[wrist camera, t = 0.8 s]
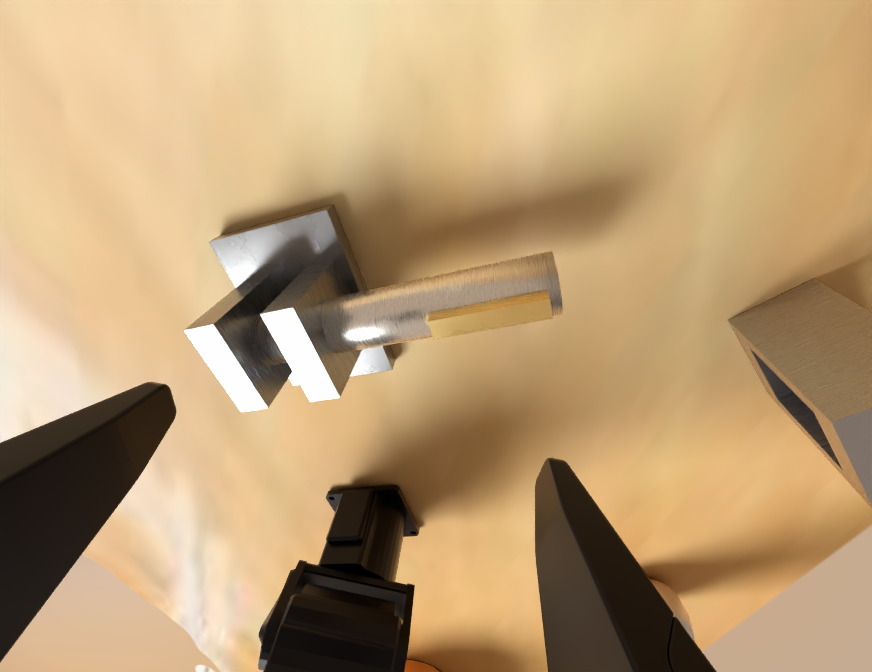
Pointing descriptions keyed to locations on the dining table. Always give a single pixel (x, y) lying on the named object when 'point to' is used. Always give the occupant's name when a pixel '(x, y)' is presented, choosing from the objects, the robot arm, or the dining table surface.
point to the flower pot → (418, 667)
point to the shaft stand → (343, 309)
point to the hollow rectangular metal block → (818, 371)
